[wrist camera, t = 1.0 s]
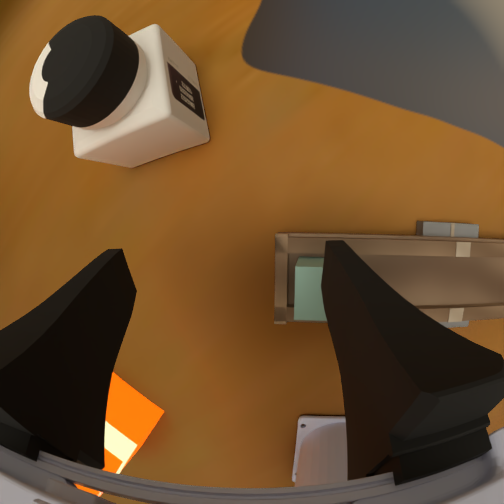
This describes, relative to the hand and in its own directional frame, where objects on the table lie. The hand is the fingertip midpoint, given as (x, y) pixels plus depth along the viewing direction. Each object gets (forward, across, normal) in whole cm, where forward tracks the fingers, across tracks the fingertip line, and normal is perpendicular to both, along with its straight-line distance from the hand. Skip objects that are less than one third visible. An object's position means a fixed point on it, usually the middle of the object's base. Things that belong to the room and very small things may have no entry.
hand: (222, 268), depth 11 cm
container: (+18, +7, -2) cm, 19 cm away
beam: (+8, -16, +8) cm, 19 cm away
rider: (+7, -6, +7) cm, 11 cm away
